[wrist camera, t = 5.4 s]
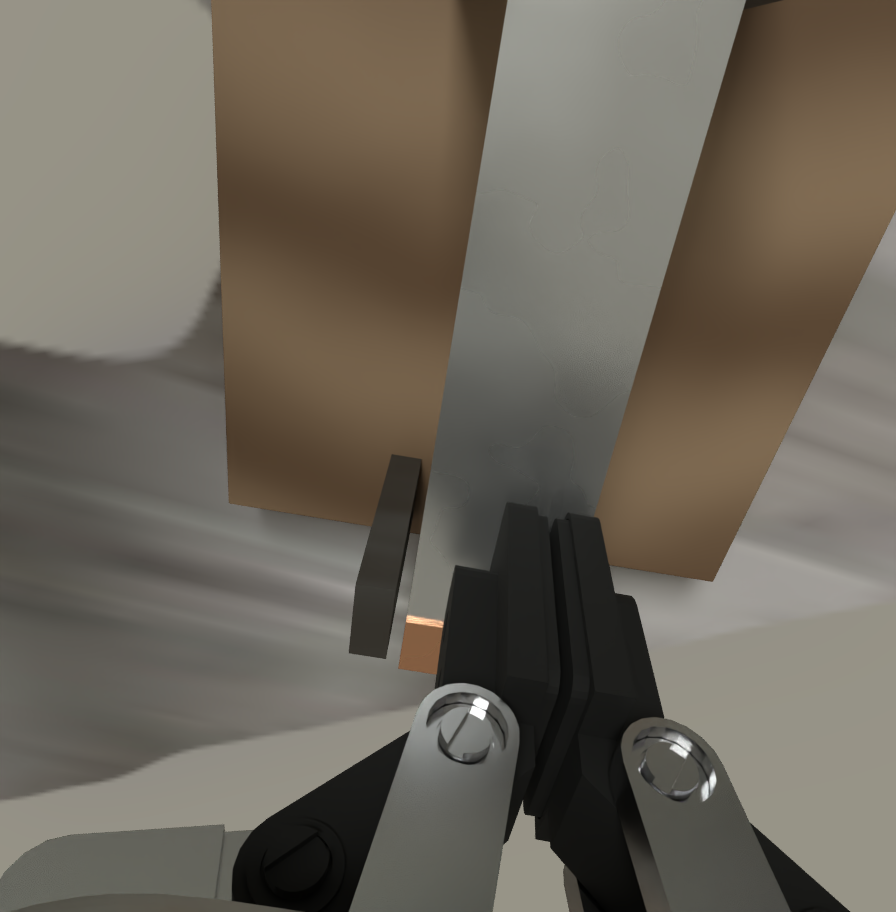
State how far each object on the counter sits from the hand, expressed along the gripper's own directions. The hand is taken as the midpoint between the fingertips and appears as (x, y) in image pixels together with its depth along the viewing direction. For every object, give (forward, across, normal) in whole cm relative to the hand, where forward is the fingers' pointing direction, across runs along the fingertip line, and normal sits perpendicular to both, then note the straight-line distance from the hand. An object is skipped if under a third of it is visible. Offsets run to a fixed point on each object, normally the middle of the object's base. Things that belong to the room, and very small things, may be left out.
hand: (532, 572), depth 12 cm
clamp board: (+7, +1, -4) cm, 8 cm away
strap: (+2, +1, -4) cm, 4 cm away
